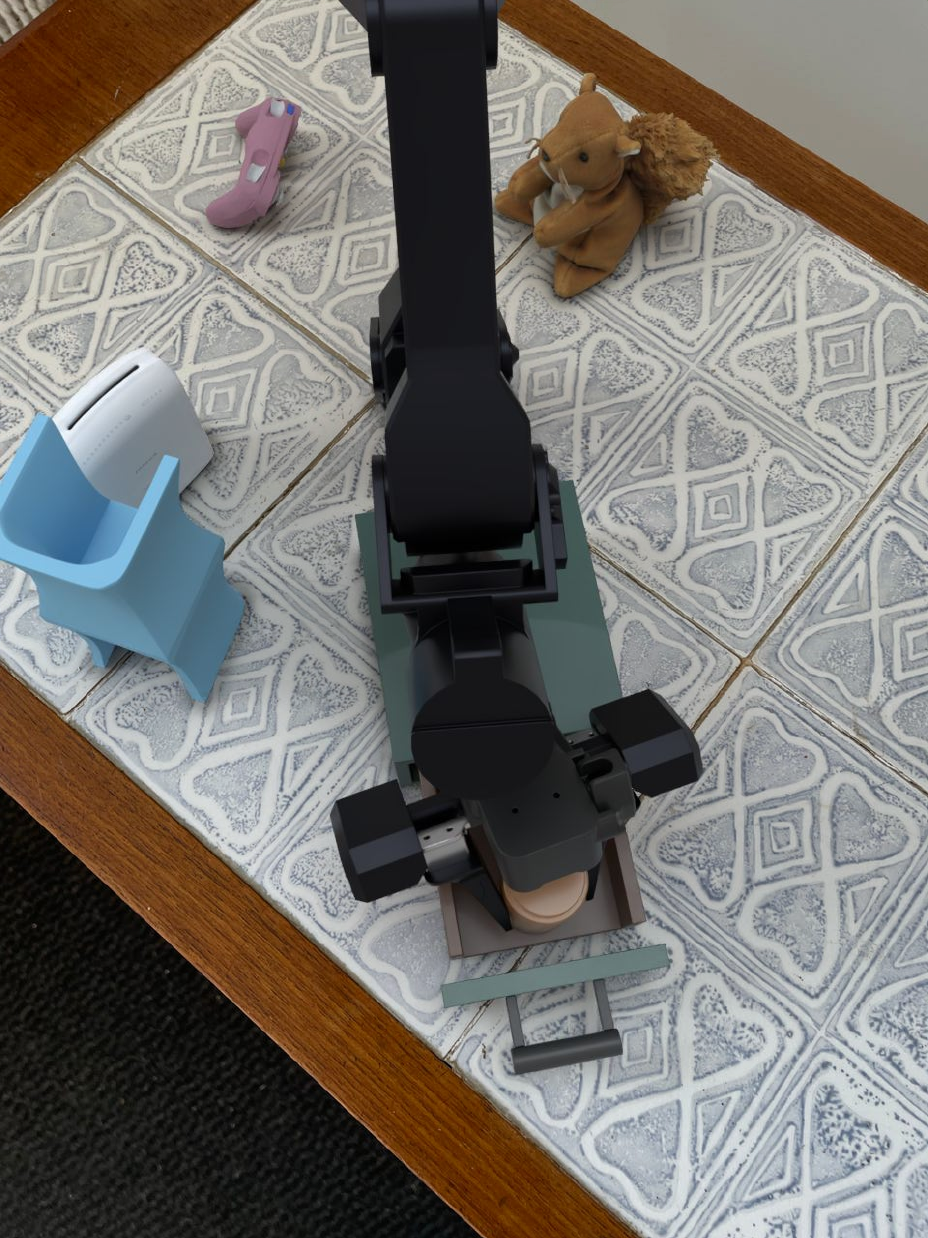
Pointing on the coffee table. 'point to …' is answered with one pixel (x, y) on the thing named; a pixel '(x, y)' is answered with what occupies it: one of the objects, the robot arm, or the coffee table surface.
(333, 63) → the coffee table surface
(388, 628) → the cabinet
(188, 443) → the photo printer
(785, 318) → the coffee table surface
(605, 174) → the stuffed squirrel
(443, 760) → the robot arm
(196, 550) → the light blue toy chair
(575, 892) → the tan lidded cylinder
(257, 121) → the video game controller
